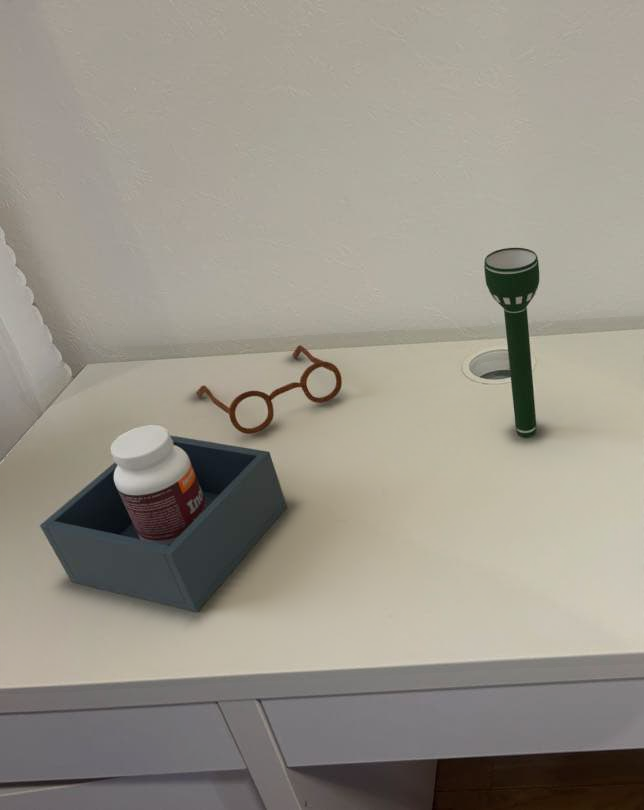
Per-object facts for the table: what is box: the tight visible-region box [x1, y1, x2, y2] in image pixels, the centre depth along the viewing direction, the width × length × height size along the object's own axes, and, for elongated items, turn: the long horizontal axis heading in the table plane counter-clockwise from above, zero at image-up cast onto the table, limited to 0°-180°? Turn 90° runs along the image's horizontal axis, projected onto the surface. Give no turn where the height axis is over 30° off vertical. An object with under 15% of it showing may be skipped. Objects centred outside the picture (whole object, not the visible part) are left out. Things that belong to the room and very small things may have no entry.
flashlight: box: [483, 247, 540, 439], centre depth 79 cm, size 5×5×20 cm
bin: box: [39, 434, 288, 613], centre depth 72 cm, size 14×14×7 cm
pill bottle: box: [110, 424, 208, 546], centre depth 70 cm, size 6×6×11 cm
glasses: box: [196, 344, 343, 435], centre depth 93 cm, size 13×13×5 cm
